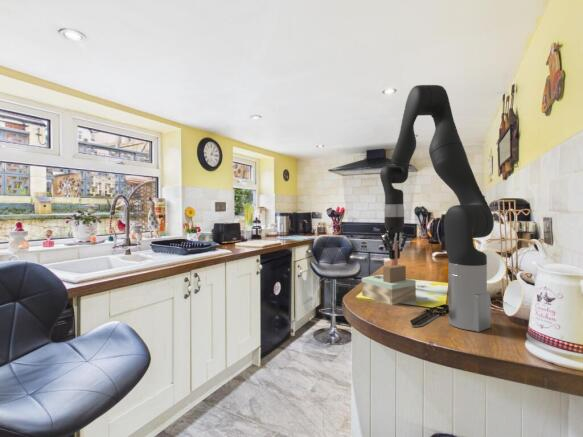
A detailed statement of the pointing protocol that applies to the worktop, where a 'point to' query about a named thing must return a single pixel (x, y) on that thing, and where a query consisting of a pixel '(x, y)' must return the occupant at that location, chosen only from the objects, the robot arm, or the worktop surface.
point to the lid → (391, 278)
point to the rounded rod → (395, 261)
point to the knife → (429, 315)
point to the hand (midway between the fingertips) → (394, 258)
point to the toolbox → (389, 293)
